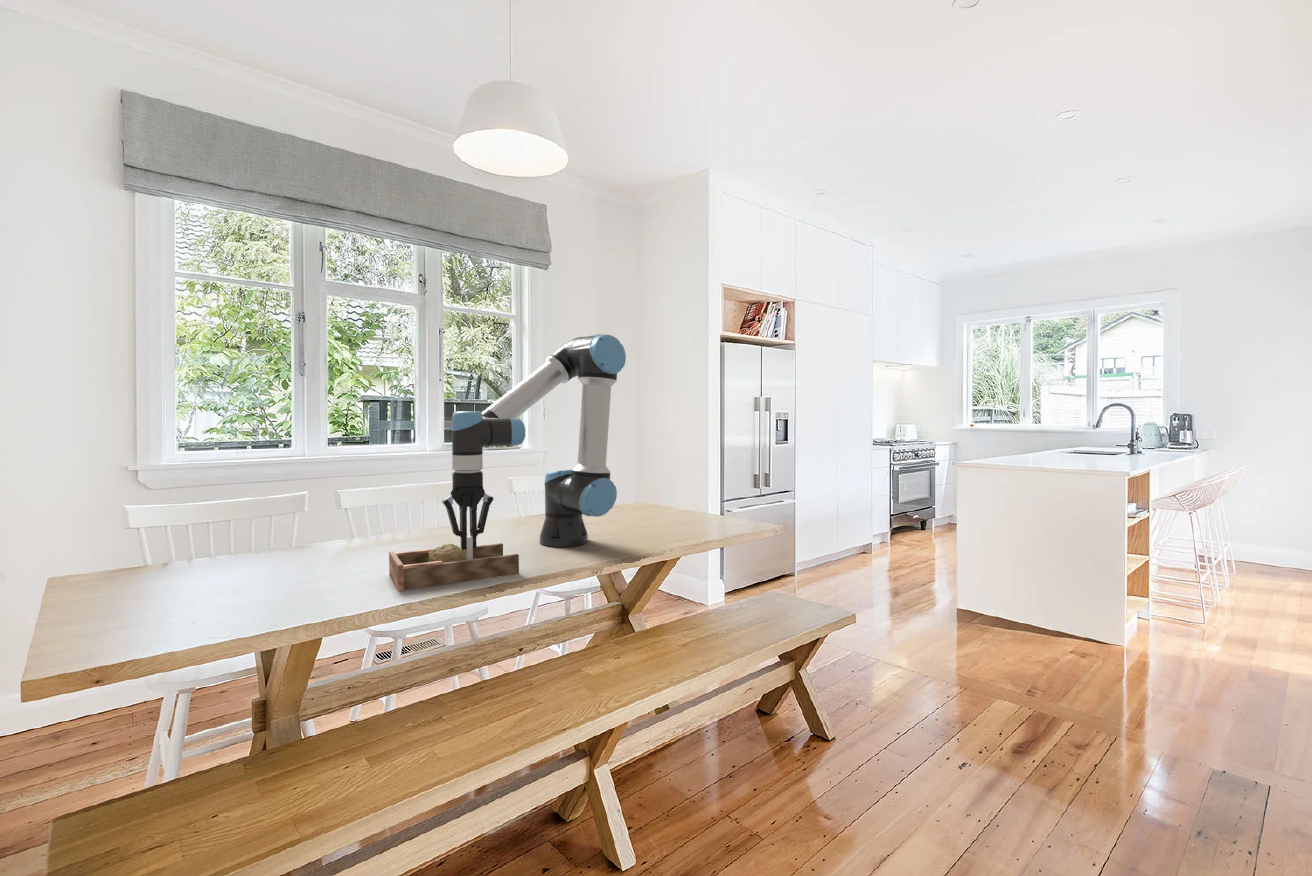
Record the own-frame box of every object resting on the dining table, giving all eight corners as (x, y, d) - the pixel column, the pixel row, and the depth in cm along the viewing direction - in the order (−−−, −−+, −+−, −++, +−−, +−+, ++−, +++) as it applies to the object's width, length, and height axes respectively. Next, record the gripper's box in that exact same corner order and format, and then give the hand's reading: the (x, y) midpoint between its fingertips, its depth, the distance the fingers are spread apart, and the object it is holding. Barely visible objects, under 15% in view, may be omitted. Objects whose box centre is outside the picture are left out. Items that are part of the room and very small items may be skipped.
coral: (468, 577, 157) (468, 548, 157) (430, 581, 153) (429, 551, 153) (464, 568, 165) (464, 540, 165) (427, 572, 162) (427, 543, 161)
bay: (501, 560, 174) (501, 539, 174) (518, 573, 161) (518, 551, 161) (389, 575, 159) (388, 552, 159) (398, 590, 146) (397, 565, 146)
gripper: (488, 468, 167) (489, 555, 168) (438, 470, 160) (439, 561, 162) (496, 471, 160) (497, 561, 162) (444, 473, 154) (446, 567, 155)
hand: (468, 561), depth 162 cm, fingers closed
